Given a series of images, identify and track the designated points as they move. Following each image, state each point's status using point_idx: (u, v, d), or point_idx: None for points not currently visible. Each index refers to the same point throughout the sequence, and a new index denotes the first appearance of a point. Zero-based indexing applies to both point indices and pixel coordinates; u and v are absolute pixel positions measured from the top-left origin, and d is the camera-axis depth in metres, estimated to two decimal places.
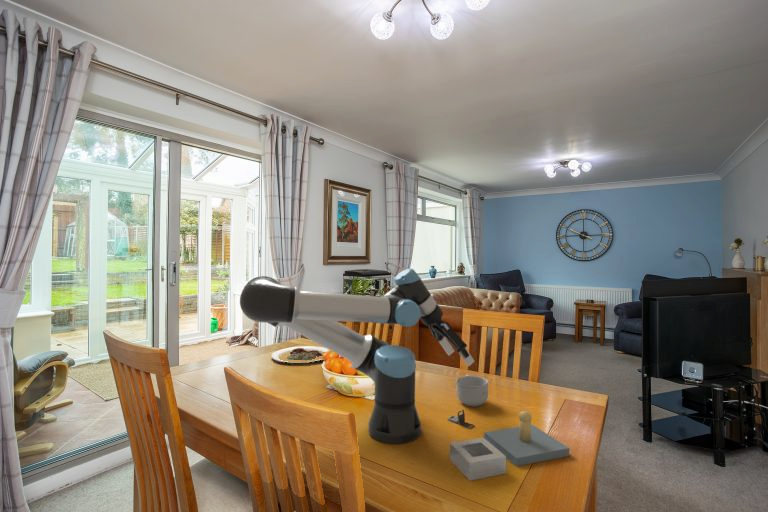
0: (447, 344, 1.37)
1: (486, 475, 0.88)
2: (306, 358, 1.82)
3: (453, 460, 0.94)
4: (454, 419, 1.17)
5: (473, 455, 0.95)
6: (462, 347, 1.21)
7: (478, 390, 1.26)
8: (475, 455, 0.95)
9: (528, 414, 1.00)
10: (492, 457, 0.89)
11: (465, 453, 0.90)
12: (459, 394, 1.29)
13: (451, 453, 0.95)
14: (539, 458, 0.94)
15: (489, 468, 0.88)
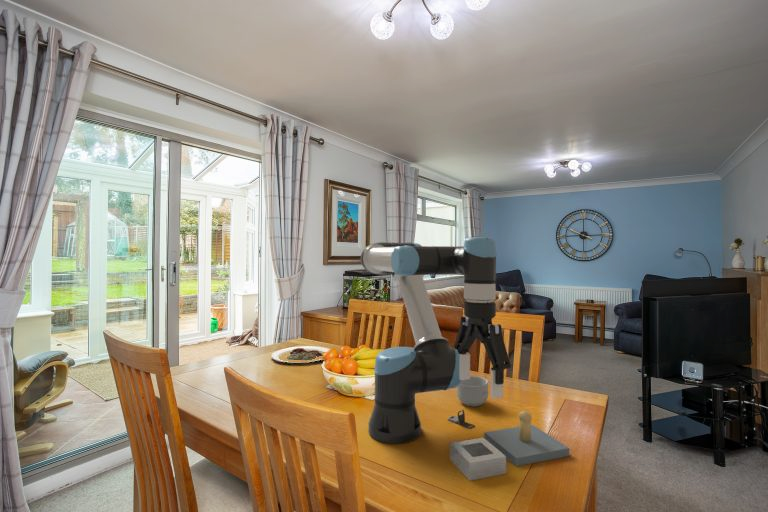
0: (467, 364, 0.99)
1: (486, 475, 0.88)
2: (306, 358, 1.82)
3: (453, 460, 0.94)
4: (454, 419, 1.17)
5: (473, 455, 0.95)
6: (504, 365, 0.84)
7: (478, 390, 1.26)
8: (475, 455, 0.95)
9: (528, 414, 1.00)
10: (492, 457, 0.89)
11: (465, 453, 0.90)
12: (459, 394, 1.29)
13: (451, 453, 0.95)
14: (539, 458, 0.94)
15: (489, 468, 0.88)
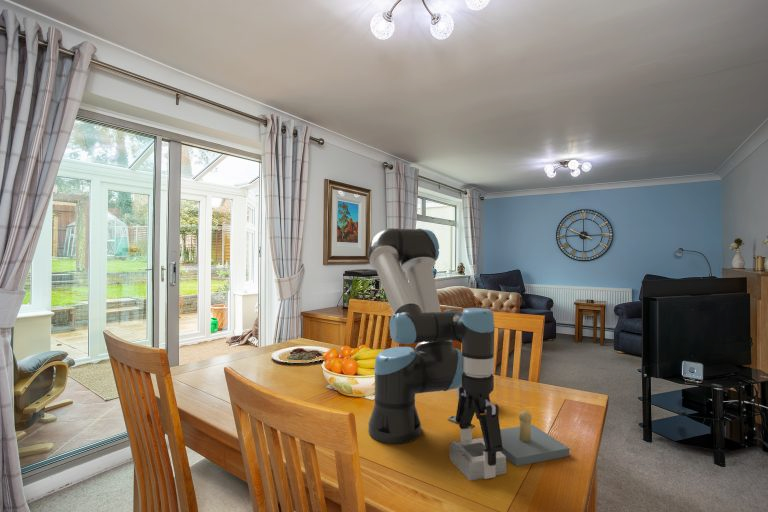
0: (468, 439, 0.97)
1: None
2: (306, 358, 1.82)
3: (453, 460, 0.94)
4: (454, 419, 1.17)
5: (473, 455, 0.95)
6: (496, 449, 0.84)
7: None
8: (475, 455, 0.95)
9: (528, 414, 1.00)
10: None
11: (465, 453, 0.90)
12: None
13: (451, 453, 0.95)
14: (539, 458, 0.94)
15: None
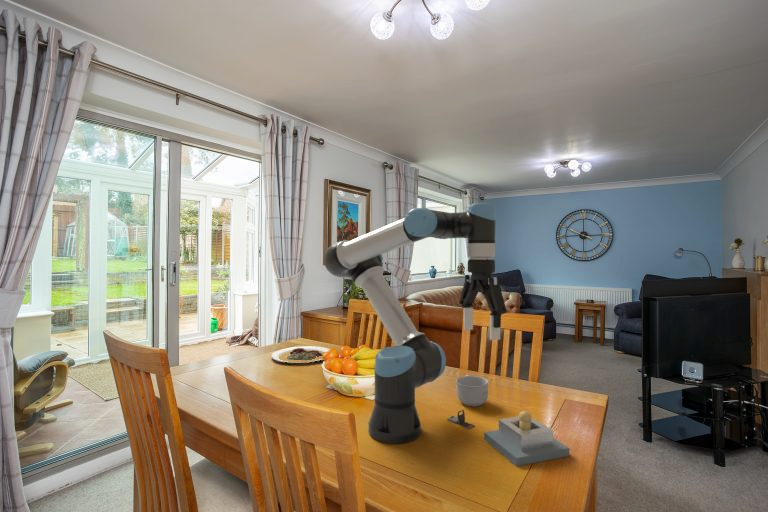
0: (470, 317, 1.13)
1: (535, 447, 0.97)
2: (306, 358, 1.82)
3: (502, 434, 1.03)
4: (454, 419, 1.17)
5: None
6: (501, 310, 0.98)
7: (478, 390, 1.26)
8: None
9: (528, 414, 1.00)
10: (540, 431, 0.98)
11: (515, 428, 0.99)
12: (459, 394, 1.29)
13: (500, 429, 1.04)
14: (539, 458, 0.94)
15: (538, 440, 0.97)
